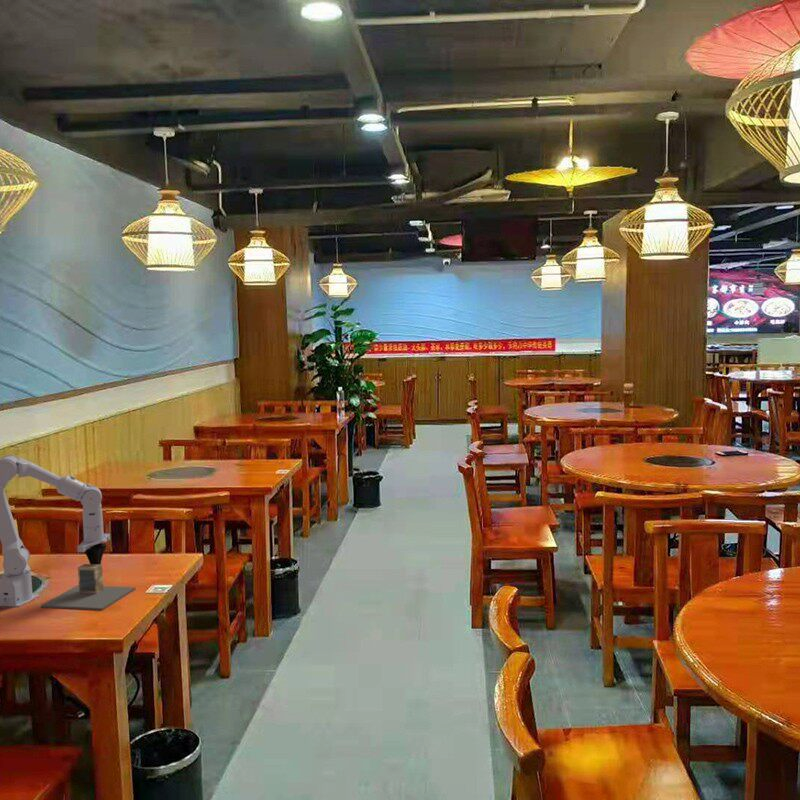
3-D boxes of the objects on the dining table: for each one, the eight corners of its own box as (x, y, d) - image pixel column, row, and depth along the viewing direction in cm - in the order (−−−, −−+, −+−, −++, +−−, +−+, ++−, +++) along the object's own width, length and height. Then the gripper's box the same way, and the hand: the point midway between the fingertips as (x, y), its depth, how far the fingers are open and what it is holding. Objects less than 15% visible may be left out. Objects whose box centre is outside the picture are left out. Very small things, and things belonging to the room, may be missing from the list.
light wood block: (96, 593, 231) (95, 568, 230) (79, 592, 232) (77, 567, 231) (103, 589, 234) (102, 564, 234) (86, 588, 235) (84, 563, 235)
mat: (102, 610, 218) (102, 608, 218) (41, 607, 222) (40, 605, 222) (135, 589, 236) (135, 587, 236) (77, 586, 240) (77, 585, 239)
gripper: (91, 532, 227) (94, 576, 228) (117, 520, 241) (120, 561, 242) (70, 531, 228) (72, 575, 229) (97, 519, 242) (100, 561, 243)
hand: (95, 568), depth 236 cm, fingers closed
